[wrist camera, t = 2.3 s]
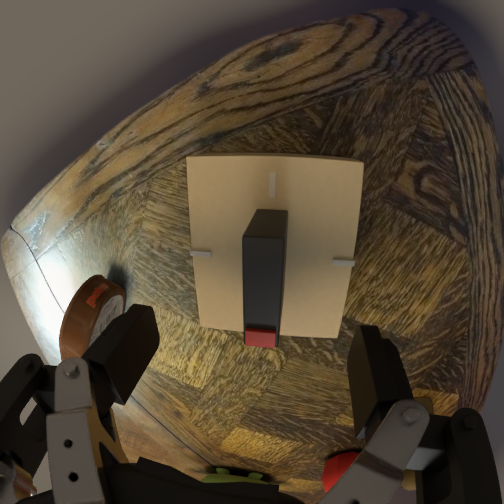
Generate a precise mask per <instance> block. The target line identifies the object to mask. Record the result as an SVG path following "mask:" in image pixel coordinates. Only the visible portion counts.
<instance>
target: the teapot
mask: <svg viewBox="0 0 504 504" xmlns="http://www.w3.org/2000/svg"><path fill="white" fill-rule="evenodd" d="M216 471H217V473H218V474H209V475H208V476H206V477H205V478H203V479H202V480H201V482H204V483H220V482H241V481H243V482H251V483H260V484H268V483H266V482H264V481H261V480H260V479H261V478H262V476H263V475H262V474H259V473H249V475H248V478H247V477H242V476H235V475H230V474H229V470H227V469H223V468H216Z"/></svg>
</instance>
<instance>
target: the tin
mask: <svg viewBox="0 0 504 504" xmlns="http://www.w3.org/2000/svg"><path fill="white" fill-rule="evenodd" d="M125 304H126V294H125V291H124V289H123V288H121V287H120V286H118V285H117V284H115V283H113V282H111V281H109V280H107V279H105V278H104V276H102V275H94V276H92V277H90V278H89V279H88V280H86V281H85V282H84V283H83V284H82V286H81V287H80V288H79V289H78V290H77V292H76V293H75V295H74V297H73V298H72V300H71V302H70V304H69V306H68V308H67V310H66V312H65V315H64V318H63V321H62V325H61V329H60V335H59V346H60V353H61V360H62V361H64V360H65V359H68V358H71V357H79V358H80V357H81V356H82V355H83V354H84V353H85V351H86V350H87V349H88V348H89V347H90V345H91V344H92V343H93V342H94V341H95V339H96V338H97V337H98V336H99V335H101V332H102V331H103V330H104V329H106V327H107V325H108V324H109V323H110V322H111V321H112V320H113V319H114V318H116V317H118V316H119V315H121V314H122V313H123V314H124V311H125Z"/></svg>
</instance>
